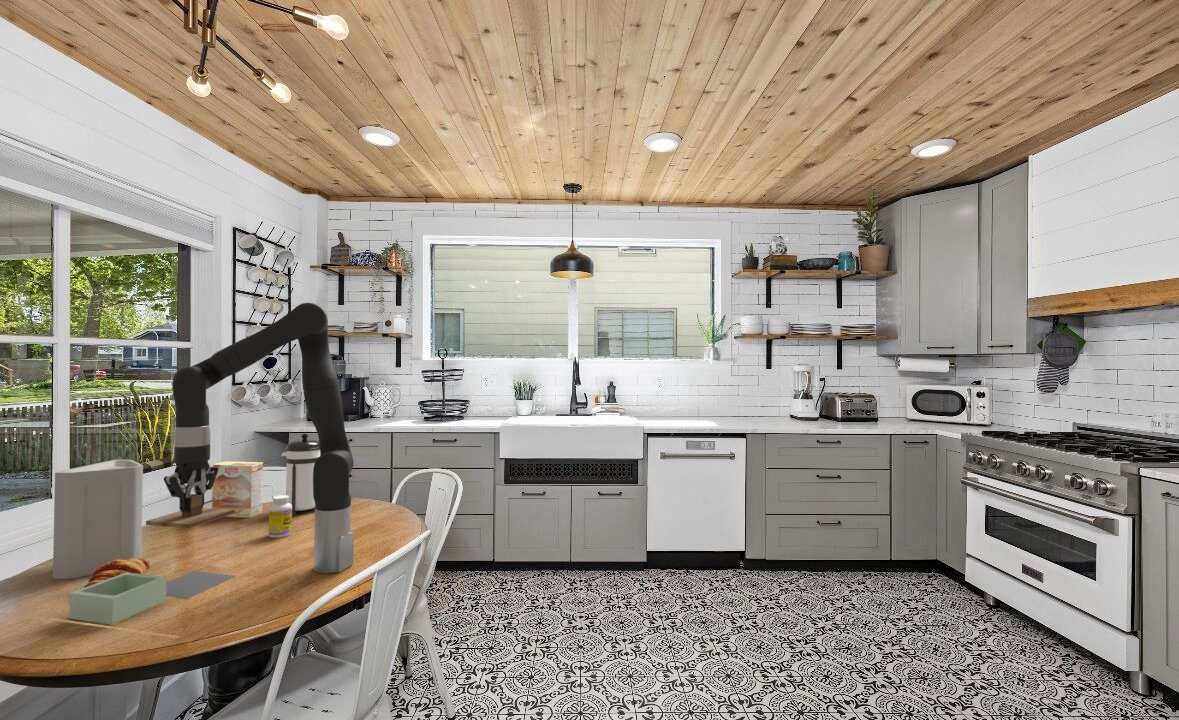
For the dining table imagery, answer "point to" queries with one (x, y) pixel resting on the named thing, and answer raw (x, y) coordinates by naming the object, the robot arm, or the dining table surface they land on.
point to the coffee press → (301, 472)
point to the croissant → (119, 569)
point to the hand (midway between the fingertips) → (192, 509)
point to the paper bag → (96, 516)
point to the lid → (191, 515)
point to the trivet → (194, 583)
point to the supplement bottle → (280, 517)
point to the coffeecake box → (238, 488)
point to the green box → (117, 598)
